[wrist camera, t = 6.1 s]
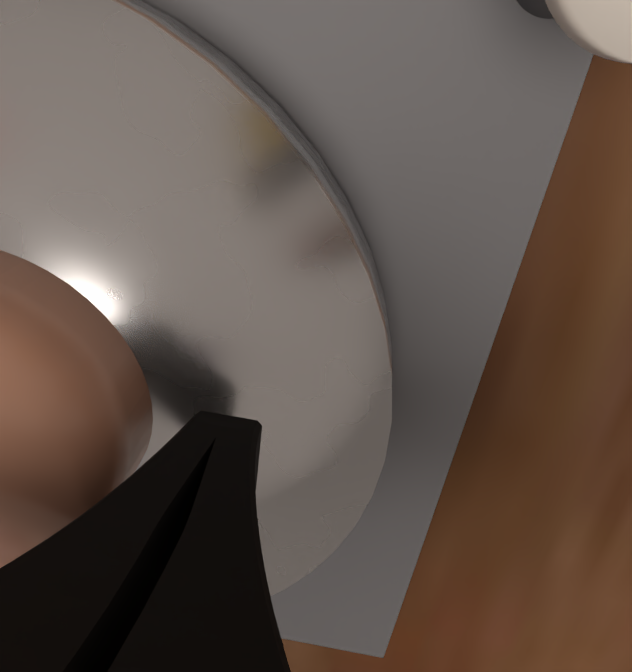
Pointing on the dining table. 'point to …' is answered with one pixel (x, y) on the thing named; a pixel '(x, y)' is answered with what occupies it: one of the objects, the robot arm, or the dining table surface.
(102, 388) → the cover
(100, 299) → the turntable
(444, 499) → the dining table surface
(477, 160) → the base plate
